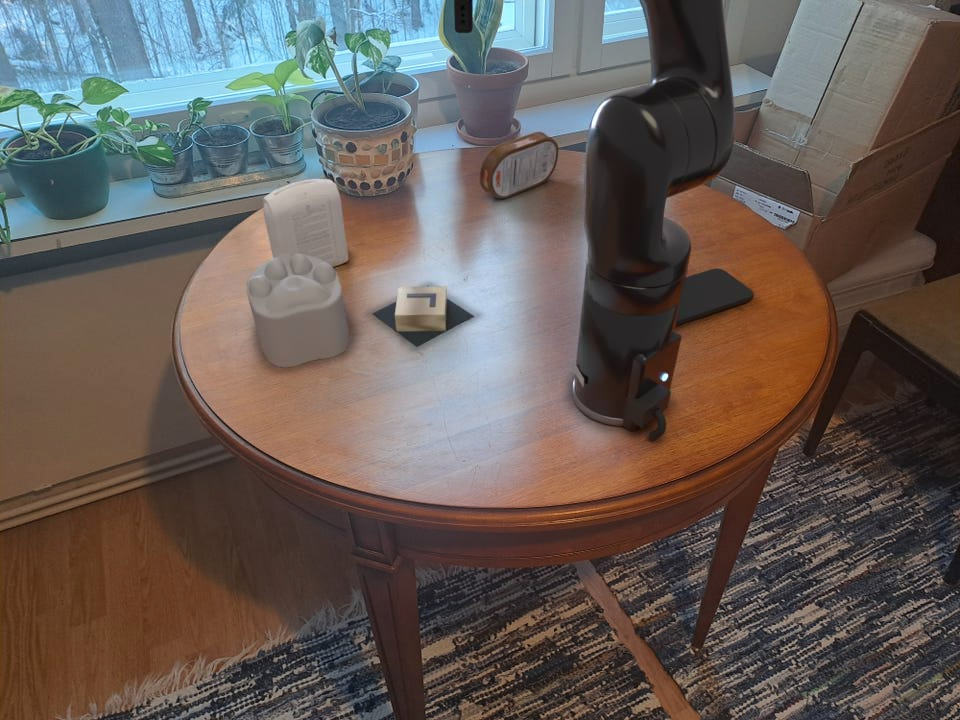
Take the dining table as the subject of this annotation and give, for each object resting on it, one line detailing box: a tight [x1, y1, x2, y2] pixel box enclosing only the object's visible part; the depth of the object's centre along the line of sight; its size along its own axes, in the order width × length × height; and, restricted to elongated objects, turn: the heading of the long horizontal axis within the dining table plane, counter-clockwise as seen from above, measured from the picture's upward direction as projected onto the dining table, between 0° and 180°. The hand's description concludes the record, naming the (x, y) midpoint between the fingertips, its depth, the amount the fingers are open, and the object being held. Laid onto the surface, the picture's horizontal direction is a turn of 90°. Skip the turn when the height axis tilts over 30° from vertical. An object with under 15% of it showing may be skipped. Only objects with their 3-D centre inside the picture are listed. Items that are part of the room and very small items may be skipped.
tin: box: [479, 131, 559, 199], centre depth 112 cm, size 15×3×8 cm, turn 130°
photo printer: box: [262, 178, 349, 268], centre depth 93 cm, size 10×4×12 cm, turn 123°
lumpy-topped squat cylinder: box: [246, 253, 351, 369], centre depth 84 cm, size 10×13×9 cm
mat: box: [372, 285, 474, 347], centre depth 89 cm, size 9×9×1 cm
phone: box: [675, 268, 755, 327], centre depth 90 cm, size 7×1×15 cm
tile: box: [395, 285, 448, 332], centre depth 87 cm, size 6×6×3 cm
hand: (464, 31), depth 89 cm, fingers closed
